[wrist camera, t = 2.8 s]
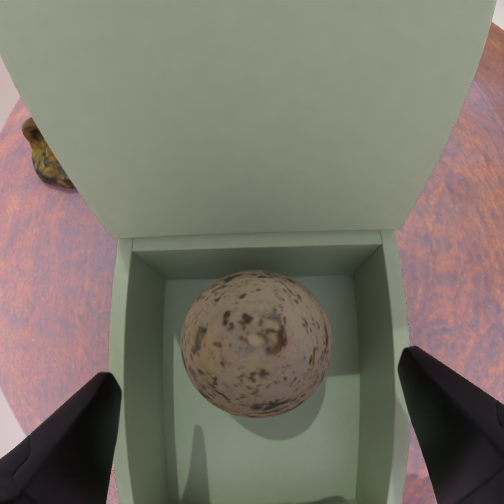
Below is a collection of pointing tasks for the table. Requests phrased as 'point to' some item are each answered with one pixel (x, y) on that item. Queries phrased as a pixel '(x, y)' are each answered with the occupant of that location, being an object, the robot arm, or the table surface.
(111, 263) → the table surface
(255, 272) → the decorative egg
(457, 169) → the table surface
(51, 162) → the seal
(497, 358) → the table surface
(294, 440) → the chest
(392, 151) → the chest lid
